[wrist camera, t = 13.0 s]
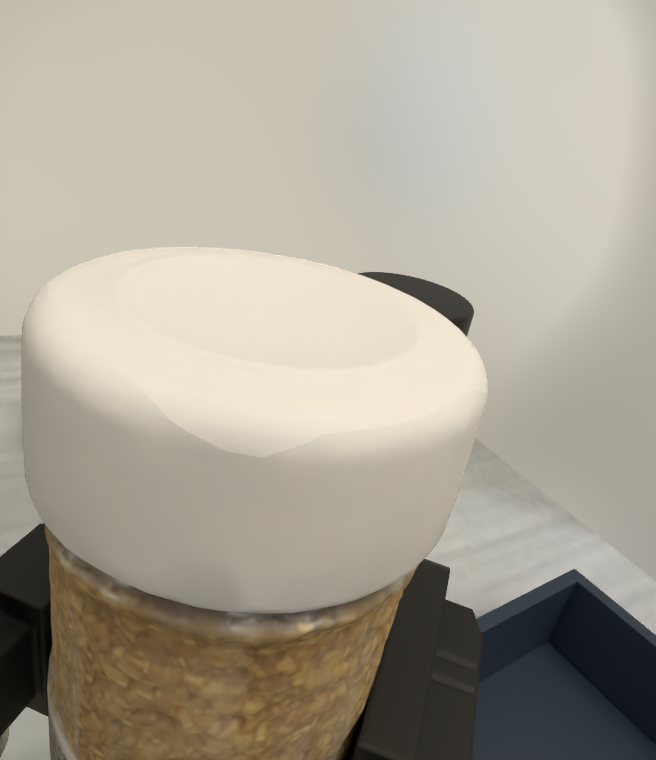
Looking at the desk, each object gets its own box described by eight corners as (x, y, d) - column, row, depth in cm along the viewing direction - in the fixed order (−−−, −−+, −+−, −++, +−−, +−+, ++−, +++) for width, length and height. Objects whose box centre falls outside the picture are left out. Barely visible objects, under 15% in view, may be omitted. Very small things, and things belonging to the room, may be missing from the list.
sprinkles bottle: (319, 1038, 11) (610, 418, 5) (44, 1158, 9) (-27, 435, 3) (261, 781, 15) (385, 249, 9) (57, 833, 13) (36, 215, 7)
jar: (436, 444, 44) (482, 292, 39) (426, 510, 37) (481, 334, 32) (321, 412, 45) (350, 260, 40) (290, 470, 38) (320, 294, 33)
